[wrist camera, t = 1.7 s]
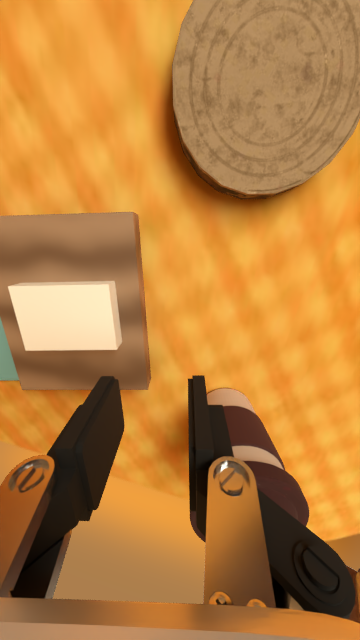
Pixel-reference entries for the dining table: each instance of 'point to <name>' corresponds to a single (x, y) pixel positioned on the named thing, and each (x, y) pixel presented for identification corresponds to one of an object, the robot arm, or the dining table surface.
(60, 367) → the panel
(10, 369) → the mat
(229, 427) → the coffee cup
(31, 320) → the cream foam board
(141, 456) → the dining table surface
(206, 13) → the wood slice coaster
